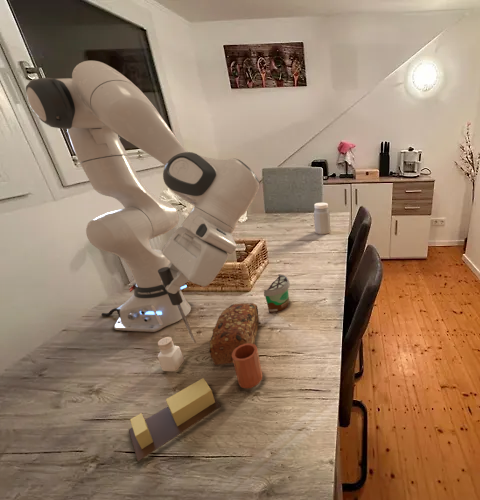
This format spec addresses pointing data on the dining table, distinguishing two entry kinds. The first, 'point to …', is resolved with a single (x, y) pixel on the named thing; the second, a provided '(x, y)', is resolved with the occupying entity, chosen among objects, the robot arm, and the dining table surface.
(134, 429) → the butter slice
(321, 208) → the jar
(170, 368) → the pepper shaker
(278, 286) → the food container
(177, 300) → the dark grey rod
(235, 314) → the bread
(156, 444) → the butter board
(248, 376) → the crock
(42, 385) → the dining table surface
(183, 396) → the butter block
